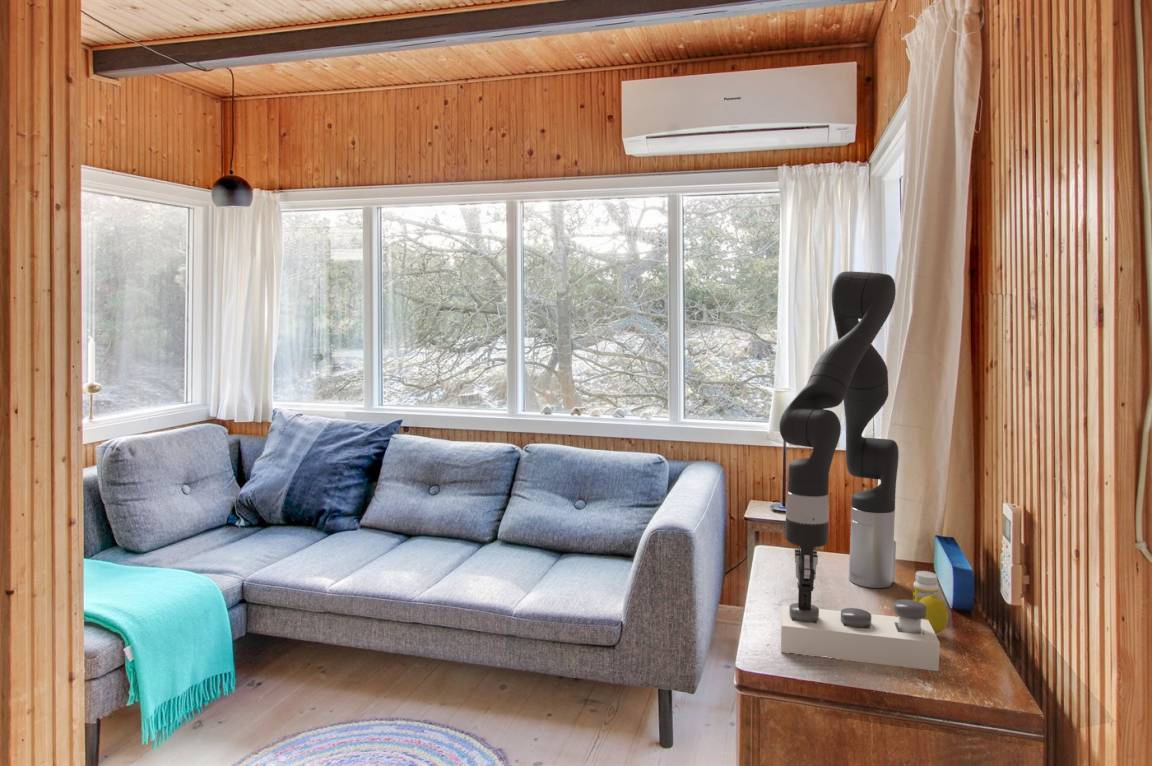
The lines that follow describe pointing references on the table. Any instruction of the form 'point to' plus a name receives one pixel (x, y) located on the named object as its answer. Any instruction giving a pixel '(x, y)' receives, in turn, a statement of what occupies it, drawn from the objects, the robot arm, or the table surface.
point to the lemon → (935, 612)
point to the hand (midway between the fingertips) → (804, 608)
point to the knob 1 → (804, 613)
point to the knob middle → (855, 618)
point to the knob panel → (861, 640)
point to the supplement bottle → (925, 585)
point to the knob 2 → (909, 615)
